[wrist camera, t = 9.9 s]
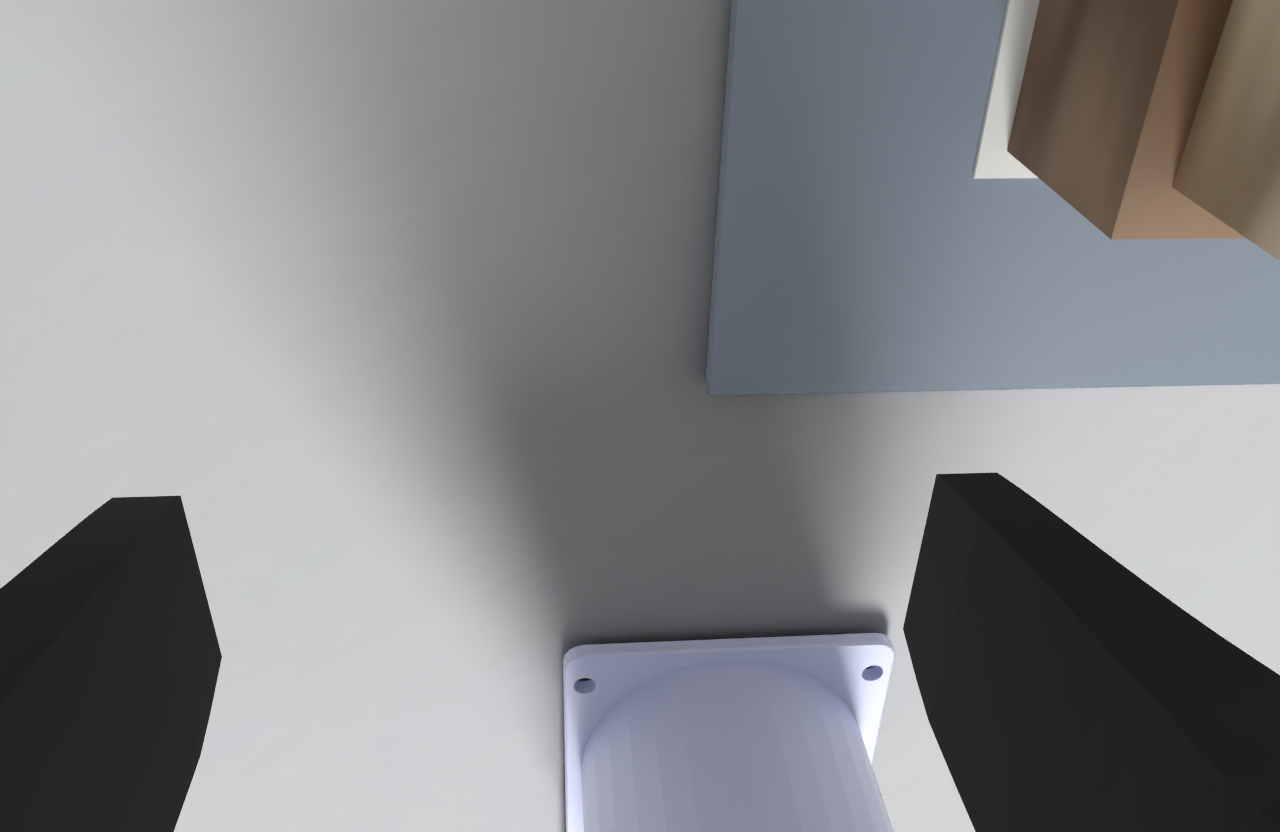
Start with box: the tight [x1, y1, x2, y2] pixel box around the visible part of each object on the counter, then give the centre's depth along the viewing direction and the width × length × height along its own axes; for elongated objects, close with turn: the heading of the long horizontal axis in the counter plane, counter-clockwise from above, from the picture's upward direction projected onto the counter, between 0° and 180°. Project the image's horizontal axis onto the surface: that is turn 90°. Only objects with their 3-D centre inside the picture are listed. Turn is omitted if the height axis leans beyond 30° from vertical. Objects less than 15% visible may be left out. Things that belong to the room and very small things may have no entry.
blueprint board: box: [705, 0, 1280, 396], centre depth 18 cm, size 14×16×1 cm
